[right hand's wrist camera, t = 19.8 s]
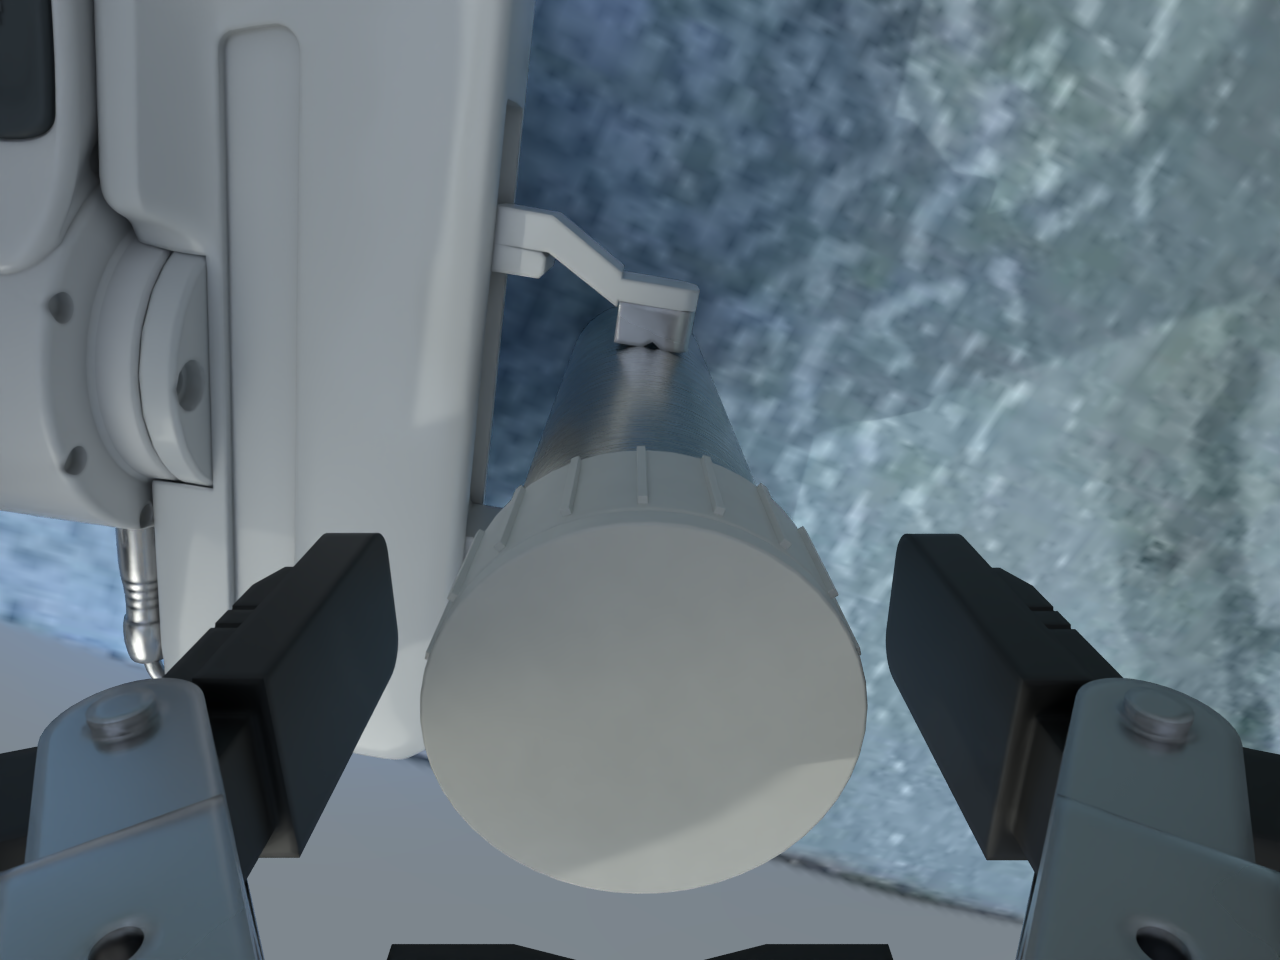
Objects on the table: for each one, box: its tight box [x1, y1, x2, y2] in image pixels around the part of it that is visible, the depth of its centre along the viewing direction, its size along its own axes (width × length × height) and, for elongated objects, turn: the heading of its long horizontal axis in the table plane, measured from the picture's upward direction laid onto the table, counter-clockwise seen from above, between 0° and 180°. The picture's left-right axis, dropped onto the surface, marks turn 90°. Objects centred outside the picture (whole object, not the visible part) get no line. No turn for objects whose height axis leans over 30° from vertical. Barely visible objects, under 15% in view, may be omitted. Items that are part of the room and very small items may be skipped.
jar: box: [524, 306, 756, 488], centre depth 17 cm, size 4×4×17 cm
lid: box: [420, 446, 867, 894], centre depth 10 cm, size 5×5×2 cm
